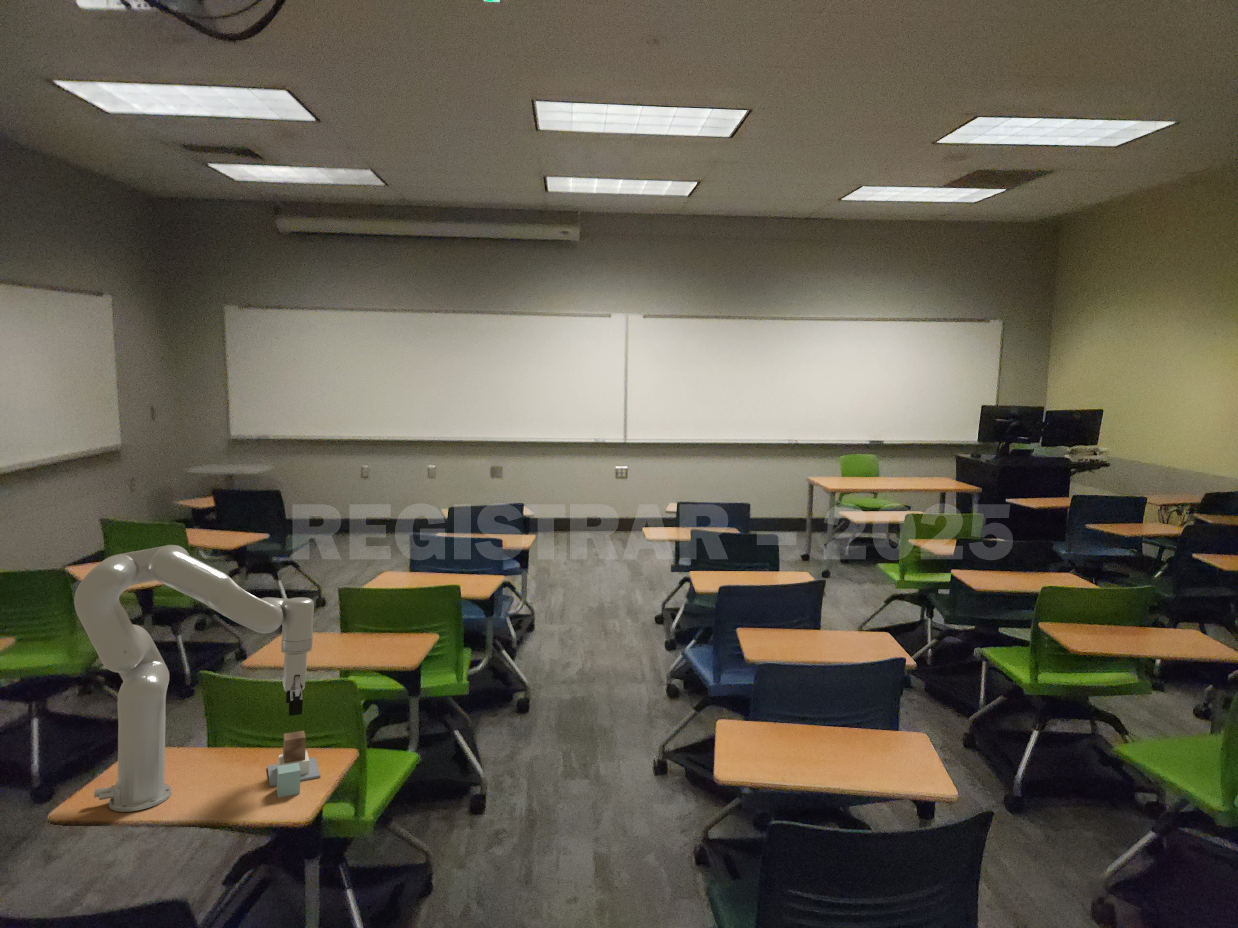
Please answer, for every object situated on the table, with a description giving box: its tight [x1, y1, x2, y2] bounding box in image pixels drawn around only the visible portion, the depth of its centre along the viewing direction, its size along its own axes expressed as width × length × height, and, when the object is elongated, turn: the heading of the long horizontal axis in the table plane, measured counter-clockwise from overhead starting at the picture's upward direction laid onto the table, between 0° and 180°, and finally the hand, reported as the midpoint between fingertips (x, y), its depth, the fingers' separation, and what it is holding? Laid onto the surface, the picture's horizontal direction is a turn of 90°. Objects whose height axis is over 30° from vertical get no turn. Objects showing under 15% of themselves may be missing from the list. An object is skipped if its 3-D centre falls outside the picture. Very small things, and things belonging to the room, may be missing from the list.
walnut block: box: [282, 730, 307, 763], centre depth 186 cm, size 5×5×6 cm
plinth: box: [267, 749, 321, 788], centre depth 186 cm, size 12×12×4 cm
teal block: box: [276, 762, 301, 799], centre depth 176 cm, size 5×5×6 cm
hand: (293, 708), depth 186 cm, fingers open, 9 cm apart
